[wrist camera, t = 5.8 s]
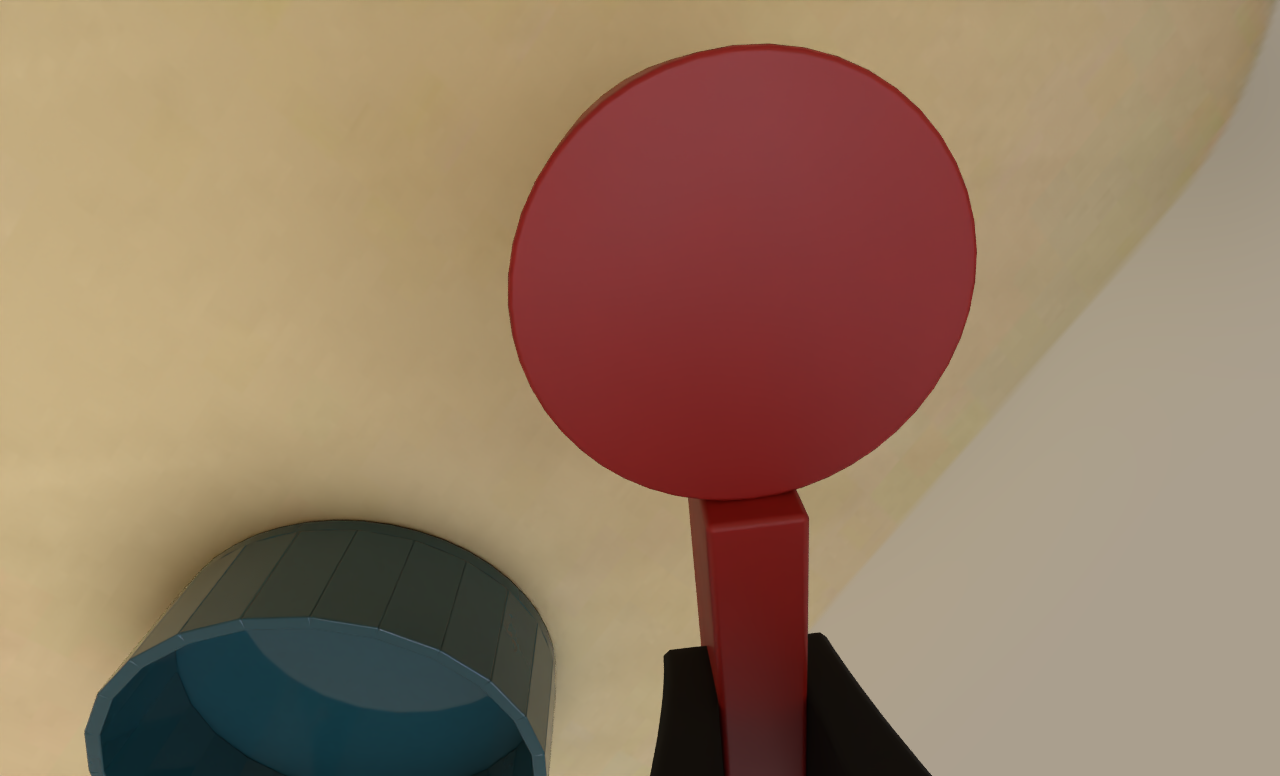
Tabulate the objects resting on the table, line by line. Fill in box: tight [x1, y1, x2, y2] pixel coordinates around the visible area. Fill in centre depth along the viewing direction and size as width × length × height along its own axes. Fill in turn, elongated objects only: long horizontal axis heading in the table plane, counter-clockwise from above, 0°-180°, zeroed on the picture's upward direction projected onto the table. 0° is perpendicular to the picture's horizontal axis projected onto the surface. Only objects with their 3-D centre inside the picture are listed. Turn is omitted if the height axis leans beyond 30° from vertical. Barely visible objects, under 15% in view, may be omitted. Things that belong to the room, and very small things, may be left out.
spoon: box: [508, 44, 977, 776], centre depth 9 cm, size 12×5×3 cm, turn 6°
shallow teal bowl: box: [84, 520, 556, 776], centre depth 21 cm, size 13×13×4 cm
